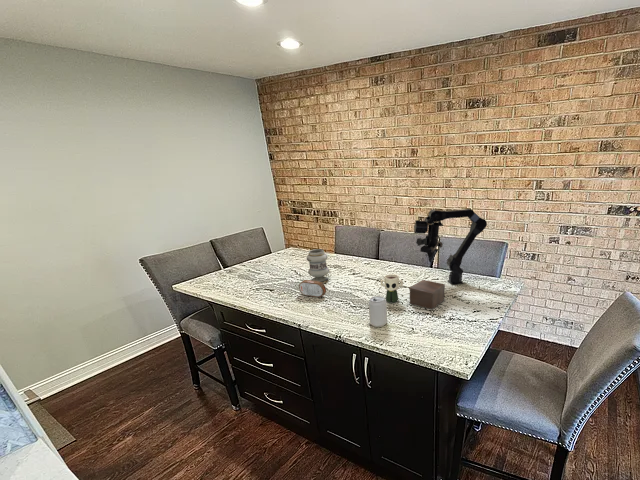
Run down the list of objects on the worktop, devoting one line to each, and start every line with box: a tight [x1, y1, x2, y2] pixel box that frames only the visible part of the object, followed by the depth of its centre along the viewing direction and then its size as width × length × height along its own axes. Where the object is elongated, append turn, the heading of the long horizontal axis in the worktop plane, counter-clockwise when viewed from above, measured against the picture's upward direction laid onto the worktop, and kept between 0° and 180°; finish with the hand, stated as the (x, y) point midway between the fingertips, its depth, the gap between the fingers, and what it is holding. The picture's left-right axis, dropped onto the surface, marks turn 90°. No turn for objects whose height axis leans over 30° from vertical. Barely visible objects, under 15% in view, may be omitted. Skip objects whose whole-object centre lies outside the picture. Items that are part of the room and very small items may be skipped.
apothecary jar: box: [306, 248, 330, 284], centre depth 196 cm, size 12×12×18 cm
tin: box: [298, 279, 327, 298], centre depth 175 cm, size 15×3×8 cm, turn 71°
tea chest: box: [409, 285, 446, 310], centre depth 166 cm, size 13×13×8 cm
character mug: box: [380, 273, 404, 303], centre depth 167 cm, size 11×7×13 cm, turn 83°
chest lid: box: [408, 279, 446, 294], centre depth 164 cm, size 13×13×1 cm
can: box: [368, 295, 388, 328], centre depth 144 cm, size 8×8×12 cm
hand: (430, 262), depth 186 cm, fingers closed
